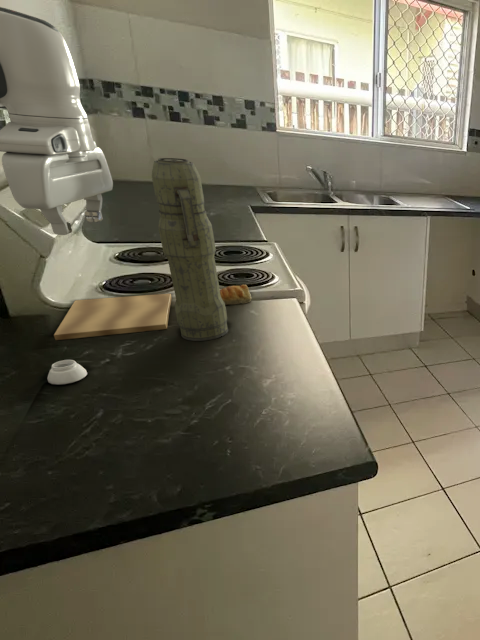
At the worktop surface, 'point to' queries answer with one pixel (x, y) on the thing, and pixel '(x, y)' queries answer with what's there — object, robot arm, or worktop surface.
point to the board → (115, 316)
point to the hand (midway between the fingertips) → (80, 227)
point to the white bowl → (66, 372)
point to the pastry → (235, 295)
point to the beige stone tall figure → (189, 249)
